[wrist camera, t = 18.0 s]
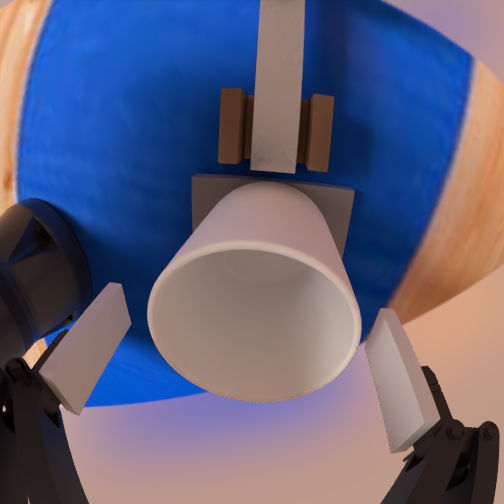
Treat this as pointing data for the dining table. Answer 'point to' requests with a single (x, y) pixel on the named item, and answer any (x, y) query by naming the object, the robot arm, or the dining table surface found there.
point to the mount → (241, 126)
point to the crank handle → (278, 86)
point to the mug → (257, 299)
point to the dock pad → (323, 195)
